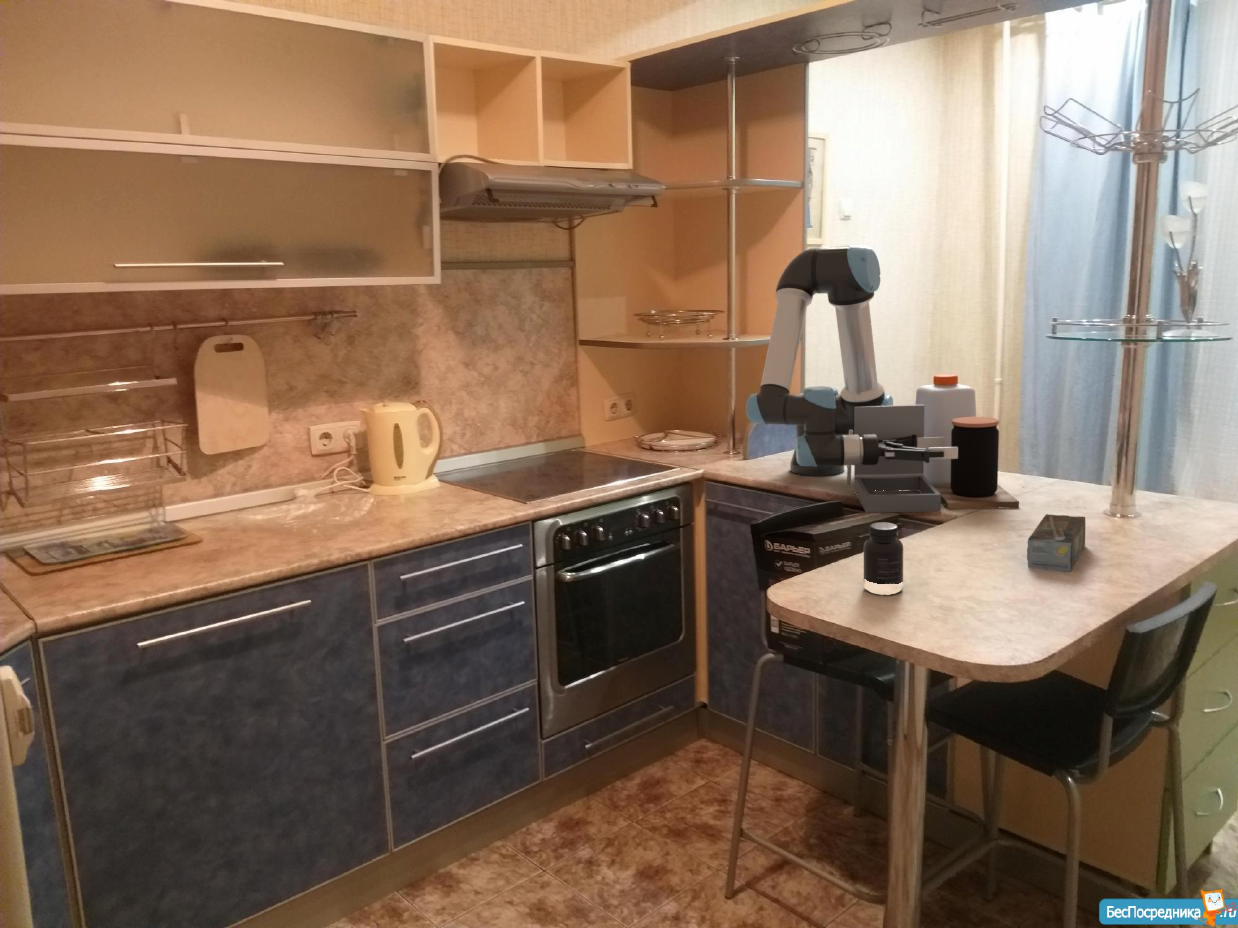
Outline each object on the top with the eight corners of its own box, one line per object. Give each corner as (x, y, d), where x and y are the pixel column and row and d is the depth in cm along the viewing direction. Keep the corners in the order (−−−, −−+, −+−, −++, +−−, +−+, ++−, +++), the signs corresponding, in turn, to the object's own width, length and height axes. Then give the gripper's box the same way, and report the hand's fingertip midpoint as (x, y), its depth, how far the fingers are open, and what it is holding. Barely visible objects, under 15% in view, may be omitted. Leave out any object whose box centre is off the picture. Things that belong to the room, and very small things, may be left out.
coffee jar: (989, 487, 231) (991, 415, 228) (1003, 497, 221) (1005, 422, 217) (945, 488, 232) (946, 417, 229) (956, 499, 222) (957, 424, 219)
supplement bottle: (858, 585, 170) (858, 521, 168) (894, 582, 171) (895, 519, 168) (871, 597, 164) (871, 531, 161) (909, 594, 164) (909, 528, 162)
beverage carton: (1024, 568, 176) (1025, 534, 174) (1043, 542, 191) (1044, 511, 190) (1071, 573, 171) (1072, 539, 170) (1086, 546, 187) (1087, 514, 186)
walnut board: (932, 491, 237) (932, 485, 237) (997, 490, 235) (997, 484, 234) (947, 508, 219) (947, 502, 219) (1018, 507, 217) (1019, 501, 217)
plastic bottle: (930, 488, 240) (932, 380, 234) (904, 476, 255) (905, 374, 249) (985, 483, 242) (988, 376, 237) (955, 472, 257) (958, 370, 251)
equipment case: (846, 486, 247) (846, 404, 242) (918, 485, 244) (919, 401, 240) (859, 512, 220) (859, 420, 216) (940, 511, 218) (942, 418, 213)
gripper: (853, 455, 240) (938, 452, 238) (868, 475, 216) (963, 473, 214) (853, 426, 239) (939, 423, 237) (868, 443, 215) (964, 441, 212)
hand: (950, 447), depth 225 cm, fingers open, 13 cm apart
